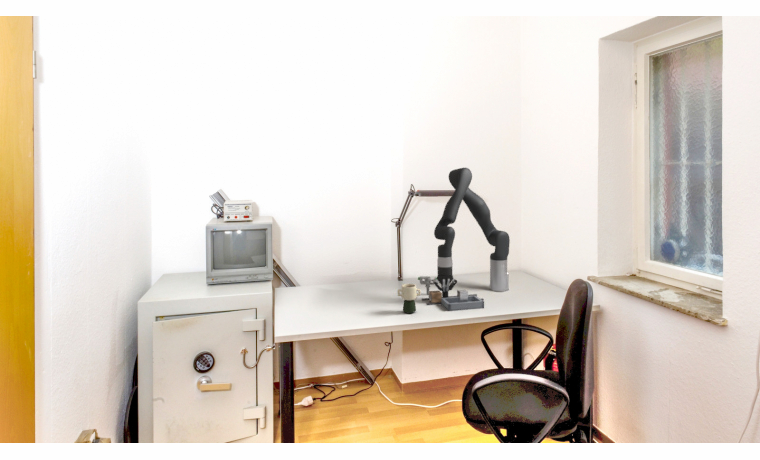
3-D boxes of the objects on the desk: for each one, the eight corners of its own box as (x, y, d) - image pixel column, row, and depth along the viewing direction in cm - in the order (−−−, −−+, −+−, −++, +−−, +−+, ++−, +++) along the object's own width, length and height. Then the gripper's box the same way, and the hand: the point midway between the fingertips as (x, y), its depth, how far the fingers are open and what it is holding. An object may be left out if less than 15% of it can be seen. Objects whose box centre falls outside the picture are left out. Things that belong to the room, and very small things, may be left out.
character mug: (419, 309, 204) (419, 283, 202) (421, 314, 196) (421, 287, 195) (397, 310, 203) (396, 284, 202) (398, 315, 196) (398, 287, 195)
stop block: (464, 303, 208) (464, 289, 207) (468, 305, 204) (468, 291, 203) (457, 303, 207) (457, 290, 207) (460, 306, 204) (460, 292, 203)
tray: (475, 302, 213) (475, 295, 213) (484, 308, 202) (484, 301, 202) (441, 304, 210) (440, 298, 209) (448, 311, 199) (448, 304, 199)
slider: (438, 299, 218) (438, 290, 217) (441, 302, 213) (441, 293, 212) (428, 300, 217) (428, 291, 216) (431, 303, 212) (431, 293, 211)
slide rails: (476, 295, 224) (476, 294, 224) (483, 300, 214) (483, 299, 214) (421, 300, 219) (421, 298, 219) (427, 305, 209) (427, 303, 209)
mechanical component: (437, 296, 226) (437, 277, 225) (418, 295, 228) (417, 277, 227) (437, 294, 229) (437, 276, 227) (418, 294, 231) (418, 276, 229)
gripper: (454, 263, 218) (454, 295, 220) (430, 264, 216) (430, 297, 218) (459, 265, 211) (460, 299, 213) (434, 267, 209) (435, 301, 211)
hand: (445, 298), depth 216 cm, fingers closed
